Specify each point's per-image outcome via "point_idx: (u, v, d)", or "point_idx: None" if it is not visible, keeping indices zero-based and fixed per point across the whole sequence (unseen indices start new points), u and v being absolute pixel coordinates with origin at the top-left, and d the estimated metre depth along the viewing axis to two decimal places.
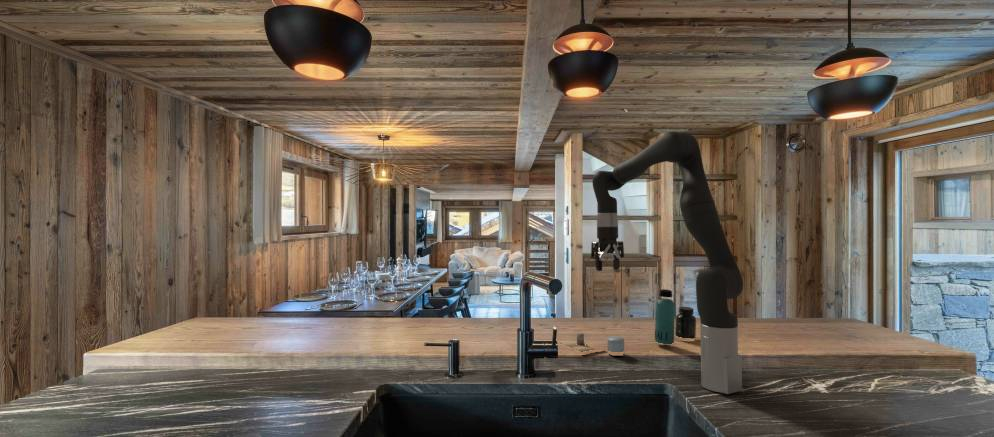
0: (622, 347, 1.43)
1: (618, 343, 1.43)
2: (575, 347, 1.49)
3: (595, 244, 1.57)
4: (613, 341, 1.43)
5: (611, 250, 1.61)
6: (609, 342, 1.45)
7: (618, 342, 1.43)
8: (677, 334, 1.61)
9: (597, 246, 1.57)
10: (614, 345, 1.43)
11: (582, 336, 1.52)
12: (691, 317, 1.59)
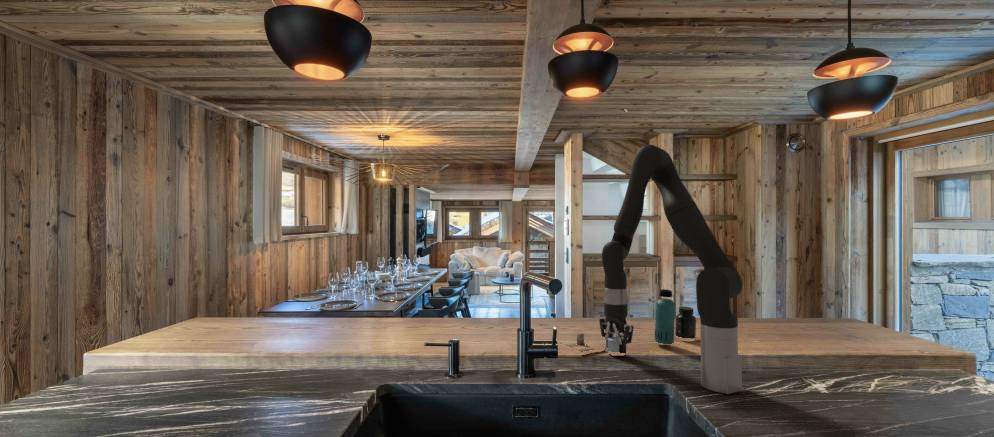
0: None
1: (618, 343, 1.43)
2: (575, 347, 1.49)
3: (632, 328, 1.40)
4: (613, 341, 1.43)
5: None
6: (609, 342, 1.45)
7: (618, 342, 1.43)
8: (677, 334, 1.61)
9: None
10: (614, 345, 1.43)
11: (582, 336, 1.52)
12: (691, 317, 1.59)
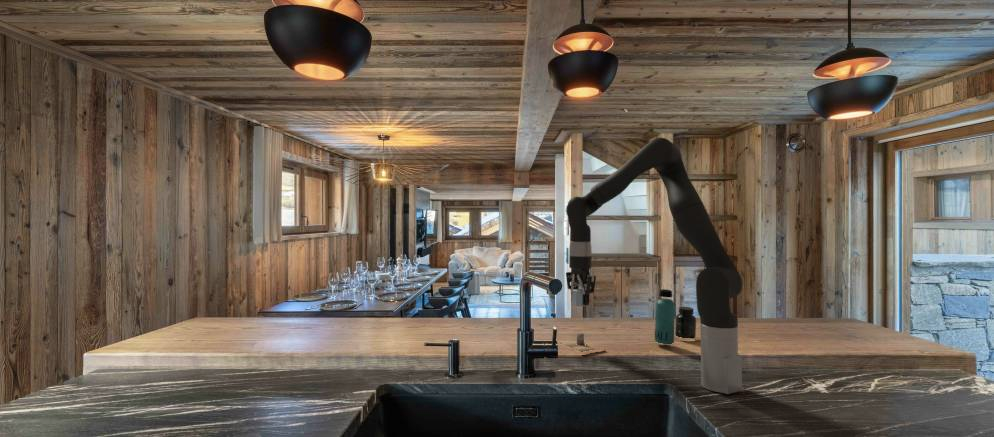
0: None
1: (582, 293, 1.50)
2: (575, 347, 1.49)
3: (594, 278, 1.47)
4: (577, 291, 1.51)
5: None
6: (573, 293, 1.52)
7: (582, 292, 1.50)
8: (677, 334, 1.61)
9: None
10: (578, 295, 1.51)
11: (582, 336, 1.52)
12: (691, 317, 1.59)
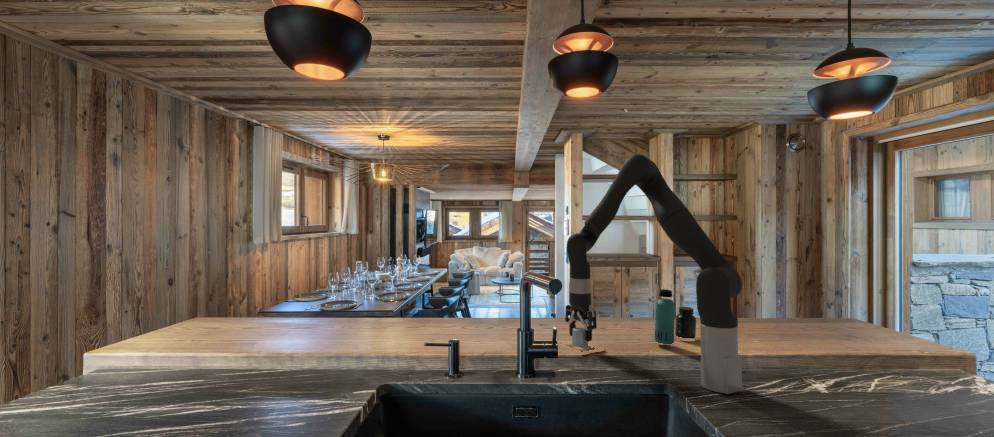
0: None
1: (582, 333, 1.50)
2: (575, 347, 1.49)
3: (594, 313, 1.47)
4: (577, 331, 1.50)
5: None
6: (573, 332, 1.51)
7: (582, 332, 1.50)
8: (677, 334, 1.61)
9: None
10: (578, 335, 1.50)
11: None
12: (691, 317, 1.59)
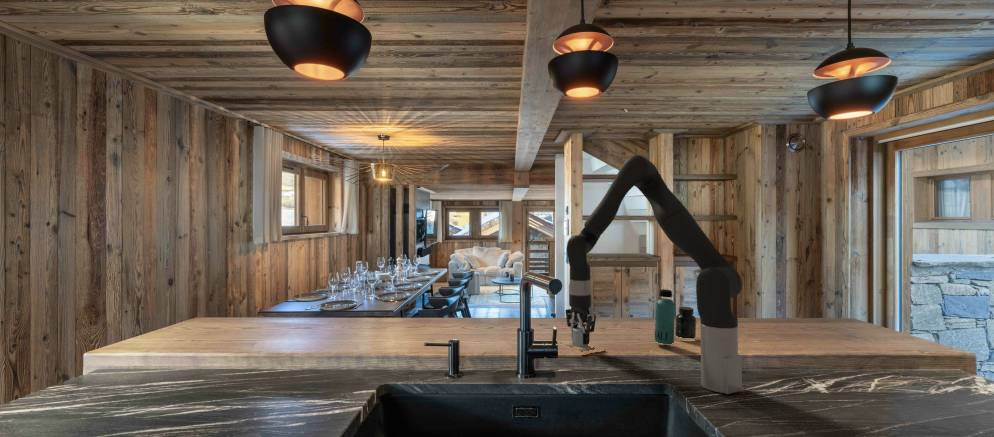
0: None
1: (582, 333, 1.50)
2: (575, 347, 1.49)
3: (594, 318, 1.47)
4: (577, 331, 1.50)
5: None
6: (573, 332, 1.51)
7: (582, 332, 1.50)
8: (677, 334, 1.61)
9: None
10: (578, 335, 1.50)
11: None
12: (691, 317, 1.59)
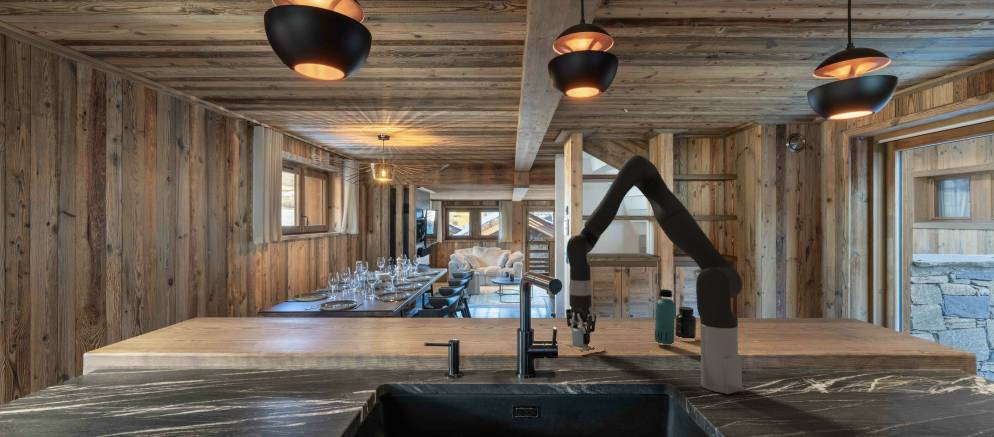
0: None
1: None
2: (575, 347, 1.49)
3: (595, 318, 1.47)
4: None
5: None
6: (580, 333, 1.50)
7: None
8: (677, 334, 1.61)
9: None
10: None
11: None
12: (691, 317, 1.59)
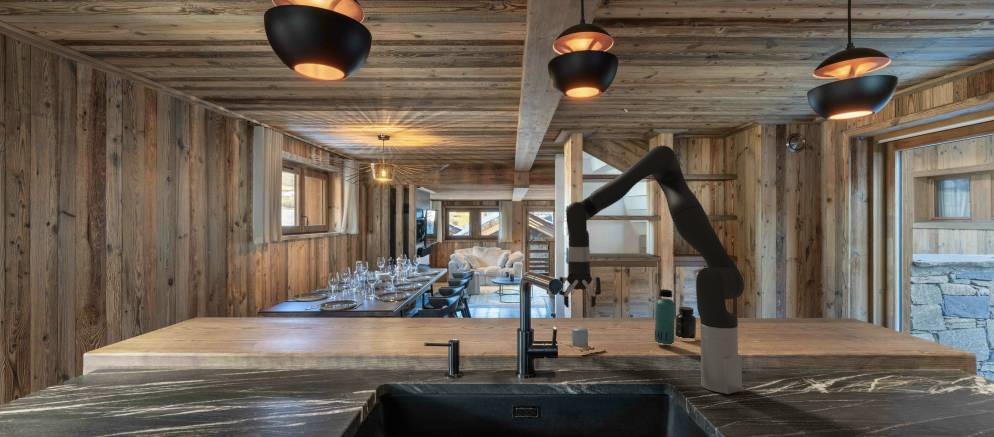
0: None
1: None
2: (575, 347, 1.49)
3: None
4: None
5: None
6: (585, 333, 1.51)
7: None
8: (677, 334, 1.61)
9: None
10: None
11: None
12: (691, 317, 1.59)
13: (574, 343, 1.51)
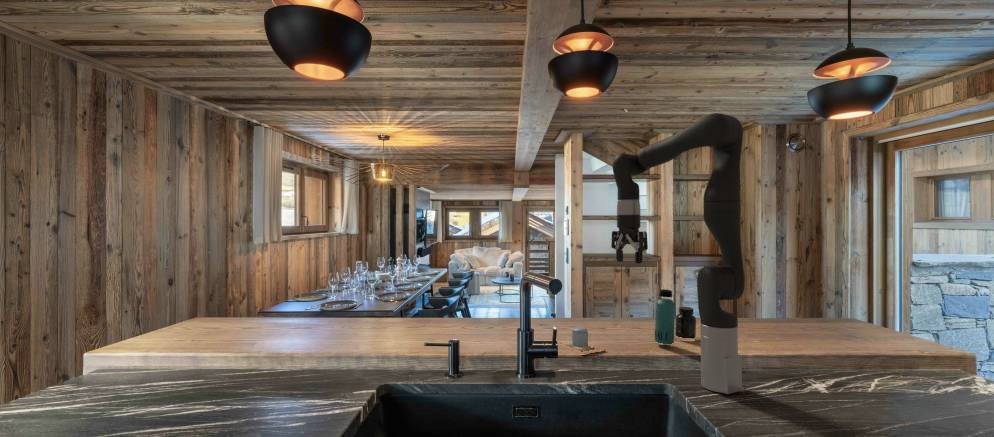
0: None
1: None
2: (575, 347, 1.49)
3: (645, 234, 1.42)
4: None
5: None
6: (585, 333, 1.51)
7: None
8: (677, 334, 1.61)
9: None
10: None
11: None
12: (691, 317, 1.59)
13: (574, 343, 1.51)
